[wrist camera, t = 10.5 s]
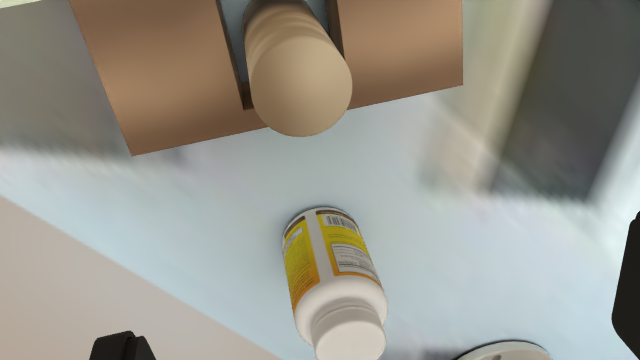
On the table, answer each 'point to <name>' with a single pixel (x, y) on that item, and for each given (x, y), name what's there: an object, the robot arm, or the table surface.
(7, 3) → the awning
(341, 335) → the supplement bottle
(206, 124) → the socket block
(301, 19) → the peg
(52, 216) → the table surface
